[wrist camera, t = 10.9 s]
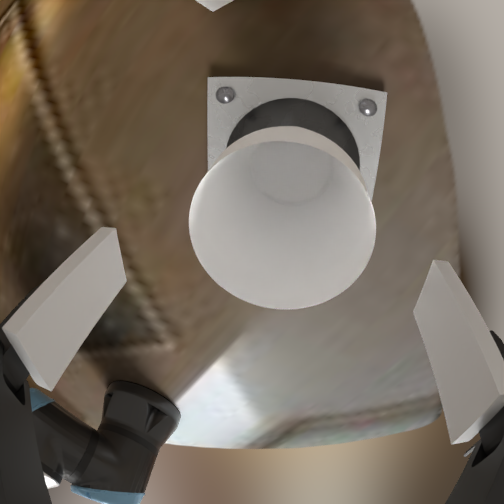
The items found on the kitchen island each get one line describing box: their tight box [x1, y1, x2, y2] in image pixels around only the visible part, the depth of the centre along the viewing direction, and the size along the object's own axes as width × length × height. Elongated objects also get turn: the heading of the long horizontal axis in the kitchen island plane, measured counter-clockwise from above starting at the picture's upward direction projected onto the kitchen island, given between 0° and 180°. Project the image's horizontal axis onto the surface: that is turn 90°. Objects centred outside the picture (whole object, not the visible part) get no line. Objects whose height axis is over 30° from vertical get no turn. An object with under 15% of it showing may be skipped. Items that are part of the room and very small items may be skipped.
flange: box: [208, 77, 387, 201], centre depth 25 cm, size 14×14×2 cm
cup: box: [189, 126, 376, 309], centre depth 19 cm, size 9×9×12 cm
